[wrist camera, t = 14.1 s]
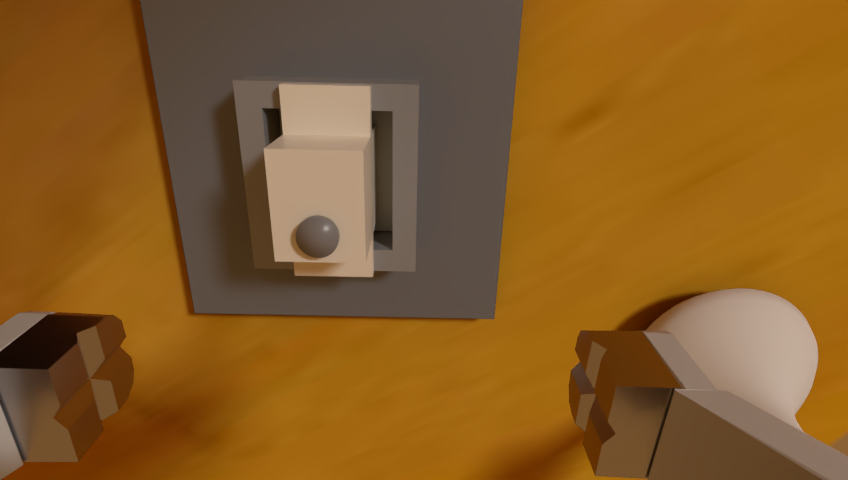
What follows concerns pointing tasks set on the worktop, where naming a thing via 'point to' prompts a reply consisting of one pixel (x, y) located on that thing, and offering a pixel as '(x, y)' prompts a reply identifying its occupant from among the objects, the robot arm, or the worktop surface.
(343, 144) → the block
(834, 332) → the worktop surface
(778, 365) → the flower in vase
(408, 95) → the plate
